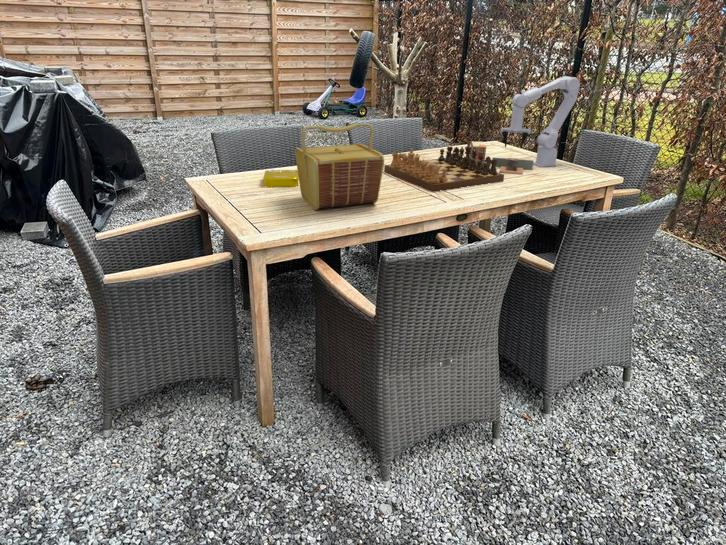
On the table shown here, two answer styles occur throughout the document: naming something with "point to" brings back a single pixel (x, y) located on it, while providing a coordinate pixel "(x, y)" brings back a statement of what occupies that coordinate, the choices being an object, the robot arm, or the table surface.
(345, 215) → the table surface
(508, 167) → the letter cube
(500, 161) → the screen
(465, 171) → the chess set
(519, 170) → the tile
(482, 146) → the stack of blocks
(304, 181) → the picnic basket
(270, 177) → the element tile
